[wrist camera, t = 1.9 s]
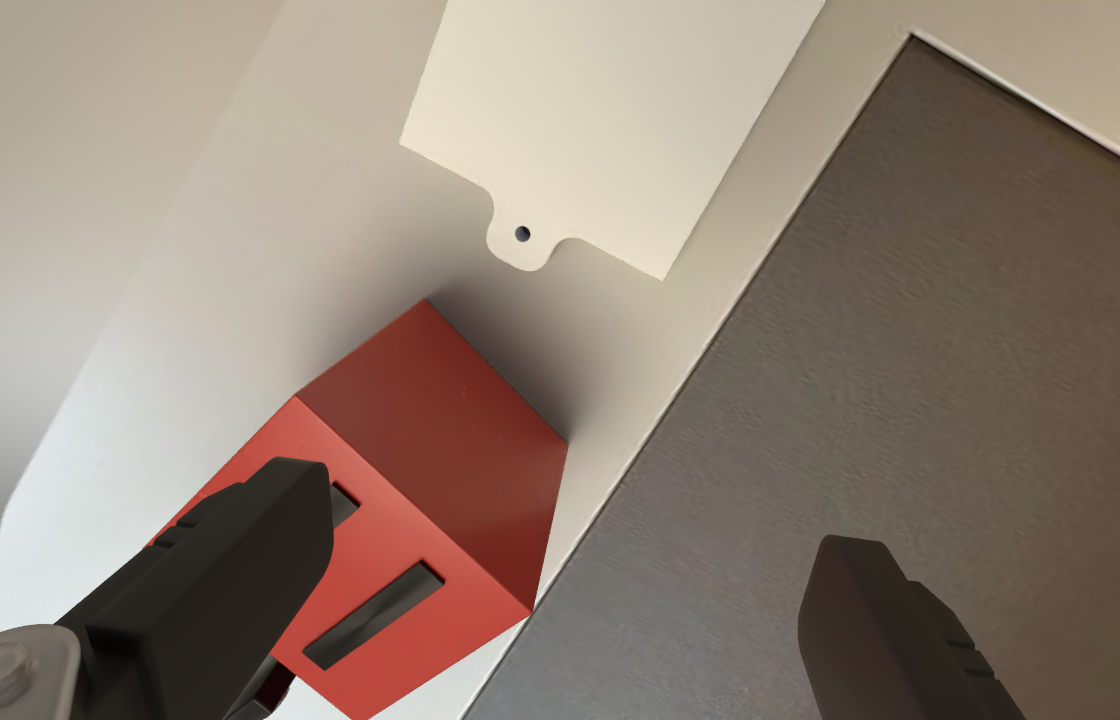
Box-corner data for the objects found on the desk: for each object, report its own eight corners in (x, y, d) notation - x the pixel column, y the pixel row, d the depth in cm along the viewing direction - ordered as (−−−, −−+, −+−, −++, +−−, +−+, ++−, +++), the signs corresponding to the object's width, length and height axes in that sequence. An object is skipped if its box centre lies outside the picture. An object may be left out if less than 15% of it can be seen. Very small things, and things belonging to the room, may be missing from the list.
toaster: (447, 537, 34) (356, 731, 23) (309, 410, 32) (134, 554, 21) (569, 445, 31) (532, 618, 20) (424, 297, 29) (290, 396, 18)
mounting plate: (634, 316, 28) (634, 328, 26) (396, 193, 27) (379, 196, 26) (868, -88, 21) (889, -109, 20) (562, -267, 21) (555, -305, 19)
